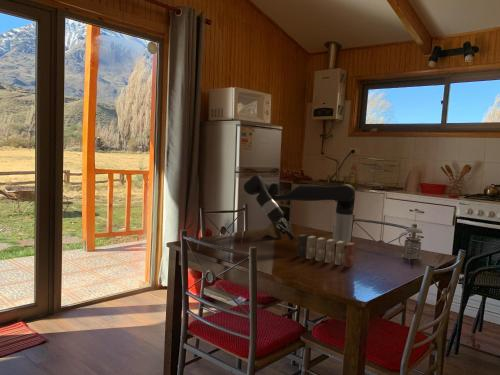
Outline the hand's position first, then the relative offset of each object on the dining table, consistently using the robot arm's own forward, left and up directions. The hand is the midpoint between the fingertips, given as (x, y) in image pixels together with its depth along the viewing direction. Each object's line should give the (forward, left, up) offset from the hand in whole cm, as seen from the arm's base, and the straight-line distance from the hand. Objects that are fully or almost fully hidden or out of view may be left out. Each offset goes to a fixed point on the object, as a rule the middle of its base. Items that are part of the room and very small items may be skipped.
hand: (293, 239), depth 192 cm
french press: (+23, +56, -7) cm, 61 cm away
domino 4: (+16, +9, -7) cm, 20 cm away
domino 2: (+8, +5, -7) cm, 12 cm away
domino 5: (+20, +12, -7) cm, 24 cm away
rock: (-34, +12, -7) cm, 37 cm away
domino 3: (+12, +7, -7) cm, 16 cm away
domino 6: (+24, +14, -7) cm, 28 cm away
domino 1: (+4, +2, -7) cm, 8 cm away
